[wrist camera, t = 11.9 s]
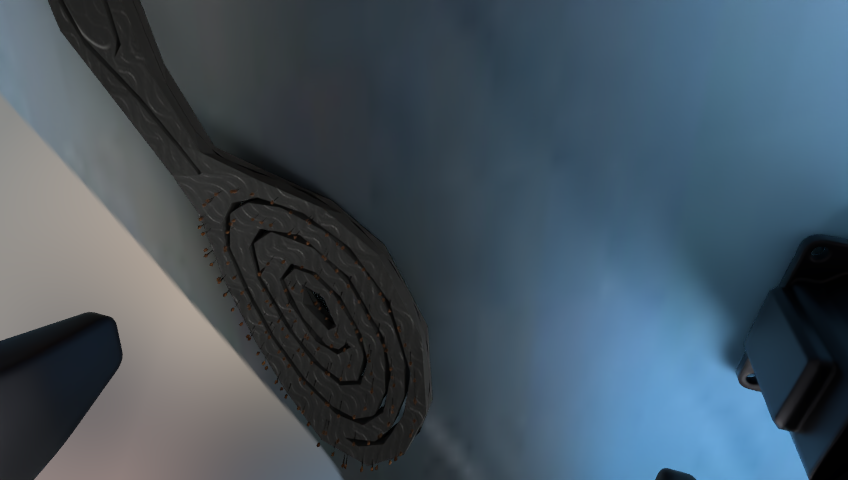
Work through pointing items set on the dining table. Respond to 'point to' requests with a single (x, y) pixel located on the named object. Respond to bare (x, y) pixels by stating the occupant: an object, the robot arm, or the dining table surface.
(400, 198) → the dining table surface
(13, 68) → the dining table surface
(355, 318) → the hairbrush
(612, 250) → the dining table surface
